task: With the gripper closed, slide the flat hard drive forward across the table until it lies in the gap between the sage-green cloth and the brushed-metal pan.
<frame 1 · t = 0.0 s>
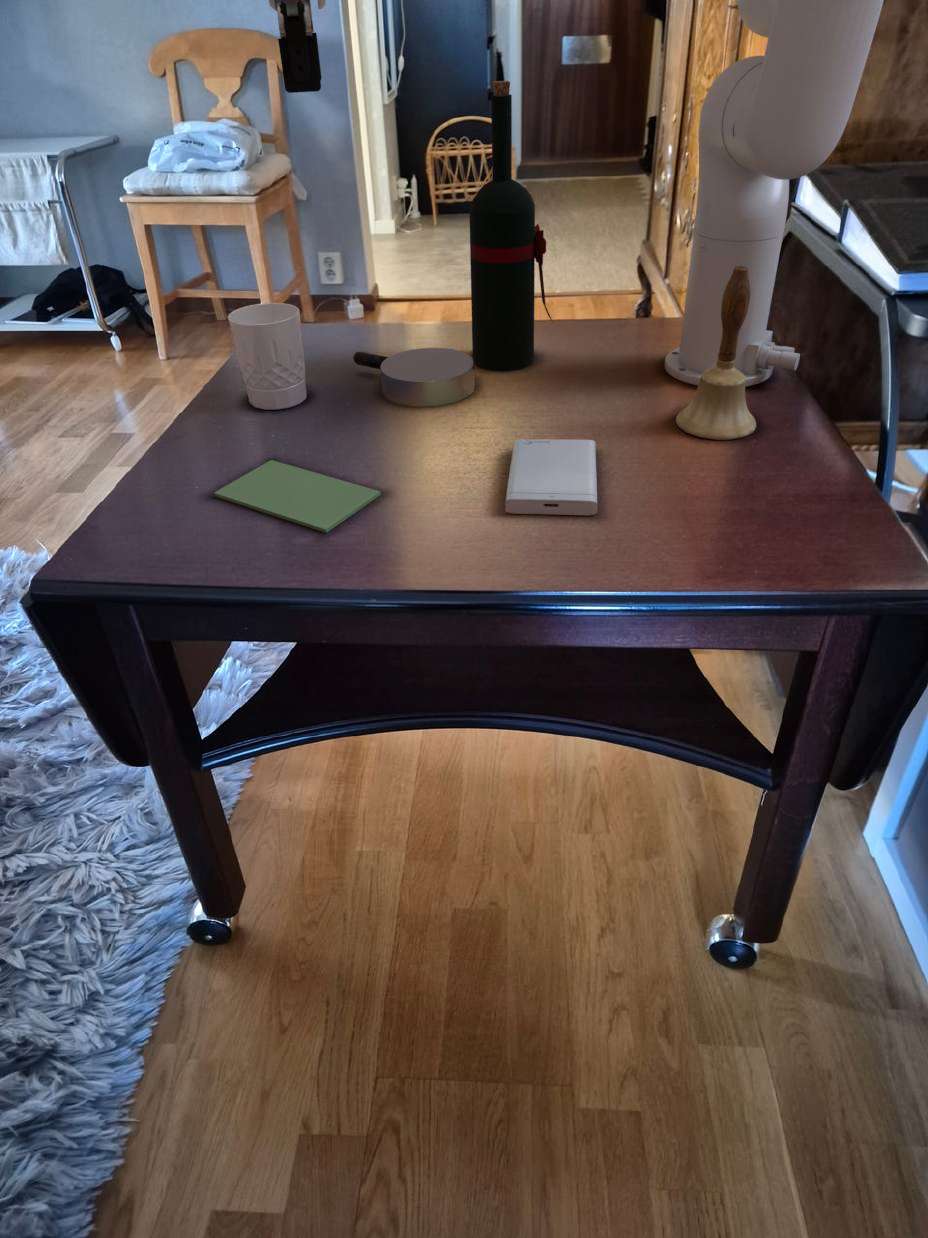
hand: (304, 86, 80), 31 cm above the table, tool pointing down, fingers open, 9 cm apart
wine bottle: (512, 360, 108), on the table
pan: (428, 388, 101), on the table
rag: (297, 495, 80), on the table
hard drive: (552, 484, 81), on the table
hand bell: (715, 425, 90), on the table
white cup: (279, 400, 100), on the table
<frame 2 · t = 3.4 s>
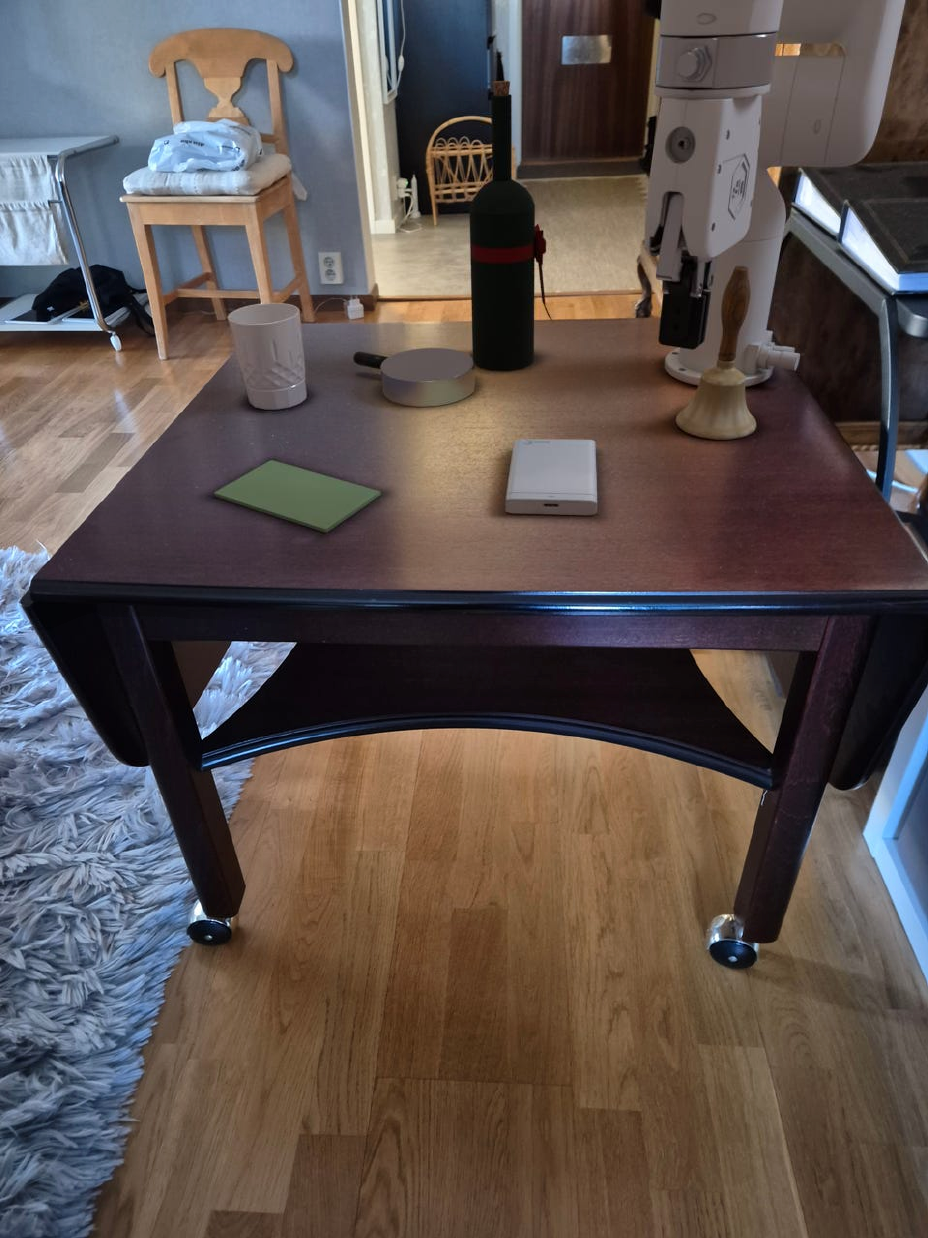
hand: (681, 343, 67), 15 cm above the table, tool pointing down, fingers closed
nothing on the table moved.
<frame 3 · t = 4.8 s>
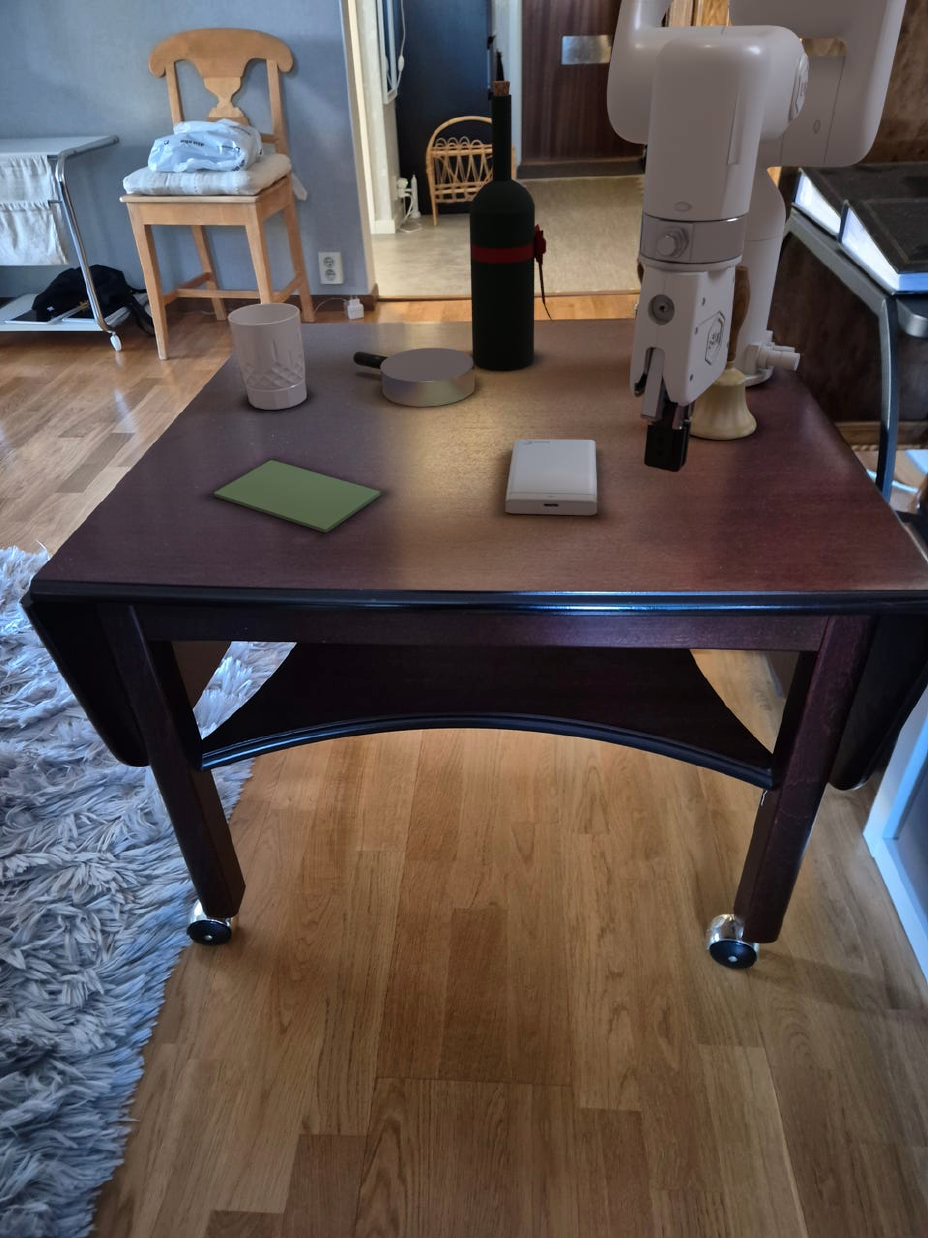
hand: (664, 465, 73), 5 cm above the table, tool pointing down, fingers closed
nothing on the table moved.
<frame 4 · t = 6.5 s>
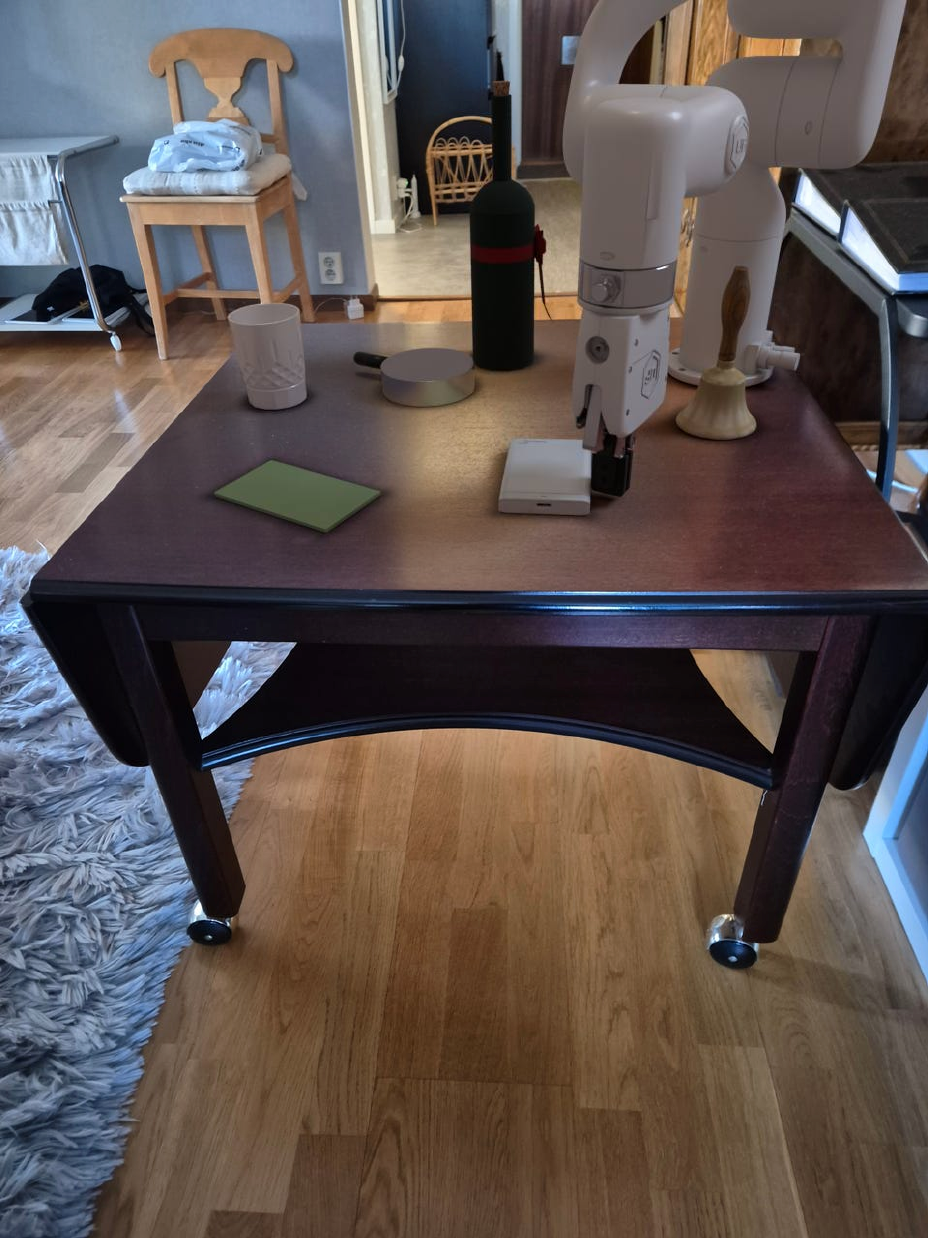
hand: (609, 489, 77), 1 cm above the table, tool pointing down, fingers closed
hard drive: (547, 483, 81), on the table, touching gripper
everything else where it was.
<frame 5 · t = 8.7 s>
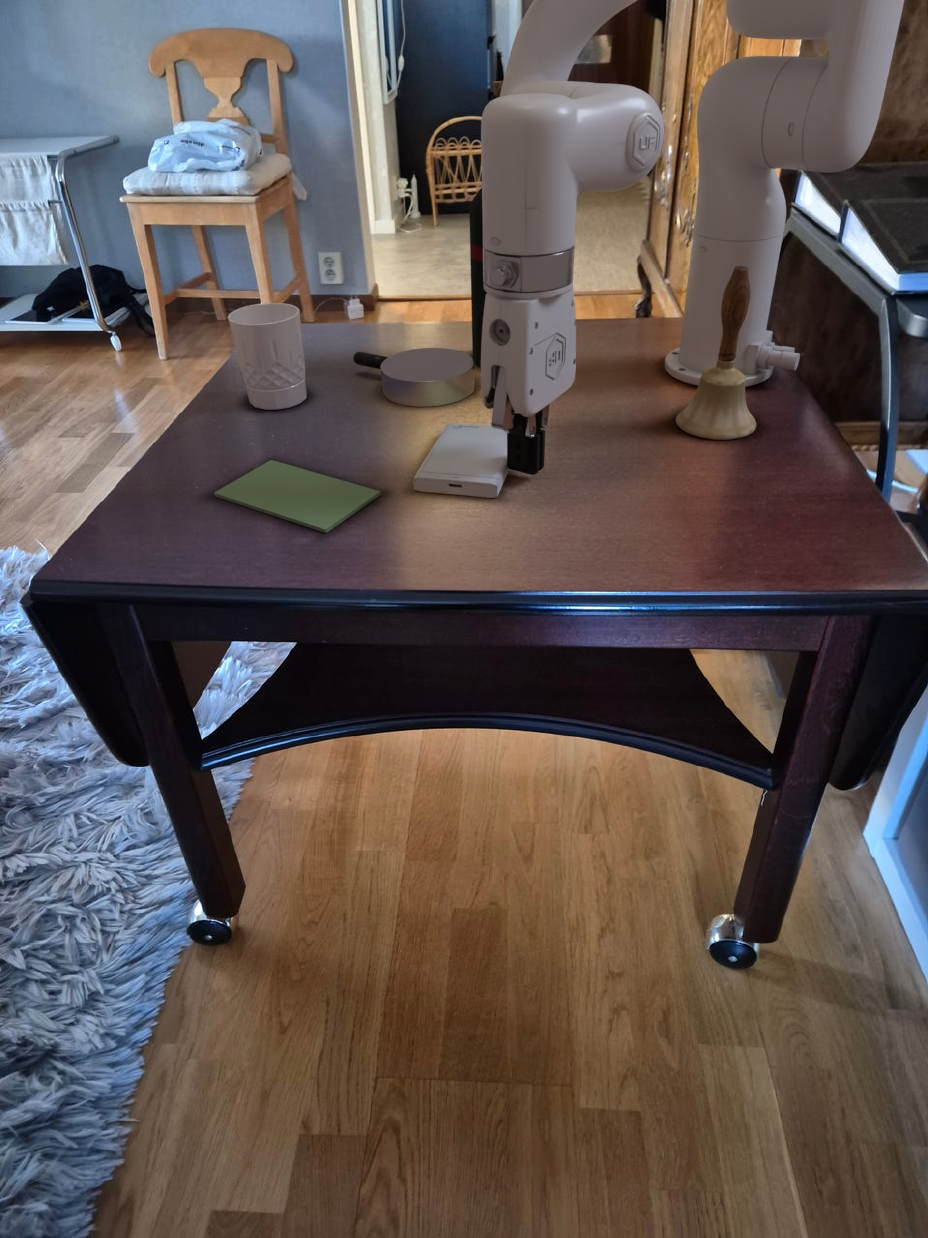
hand: (525, 468, 81), 1 cm above the table, tool pointing down, fingers closed
hard drive: (471, 467, 84), on the table, touching gripper
everything else where it was.
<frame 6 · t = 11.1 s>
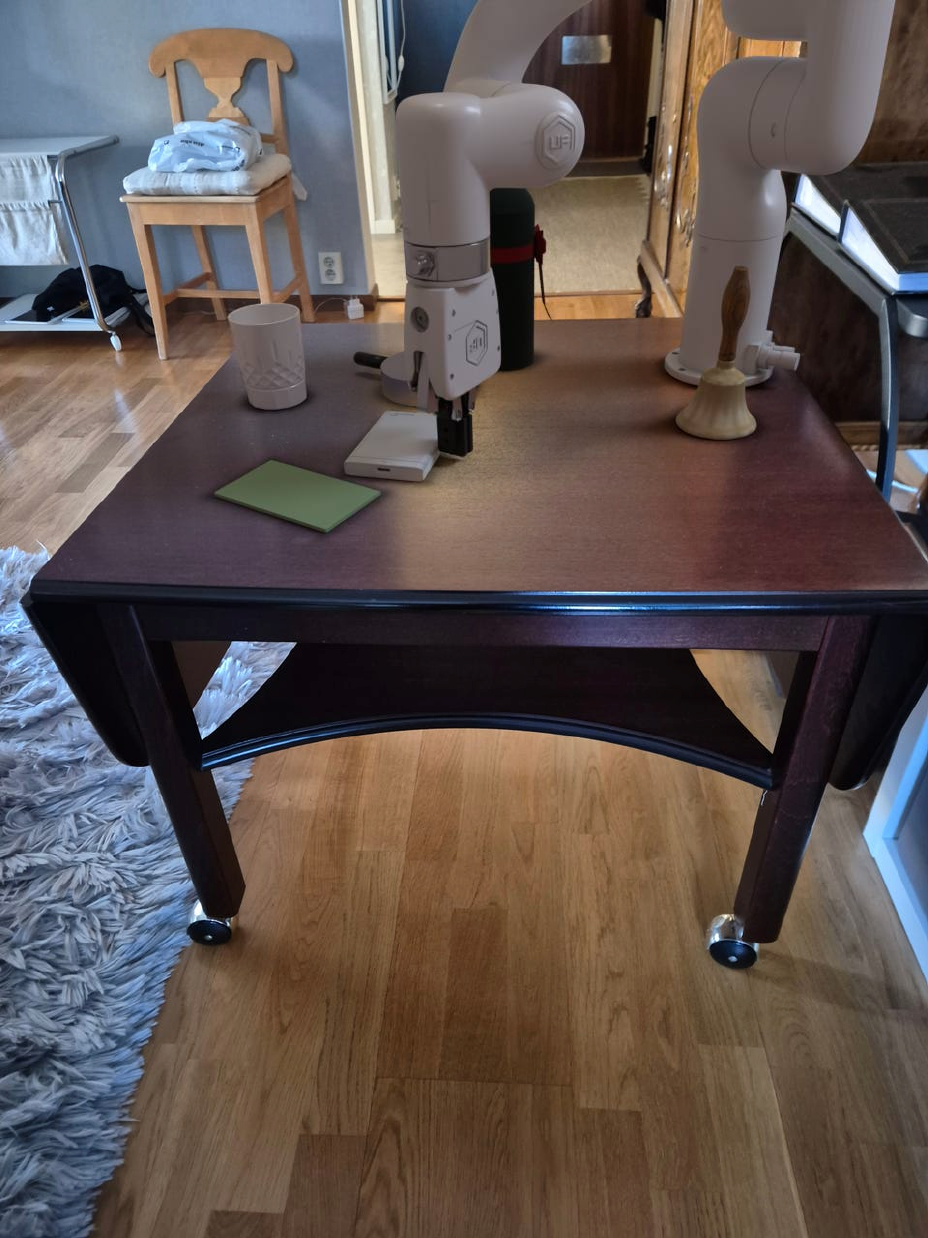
hand: (455, 451, 85), 1 cm above the table, tool pointing down, fingers closed
hard drive: (403, 452, 87), on the table, touching gripper
everything else where it was.
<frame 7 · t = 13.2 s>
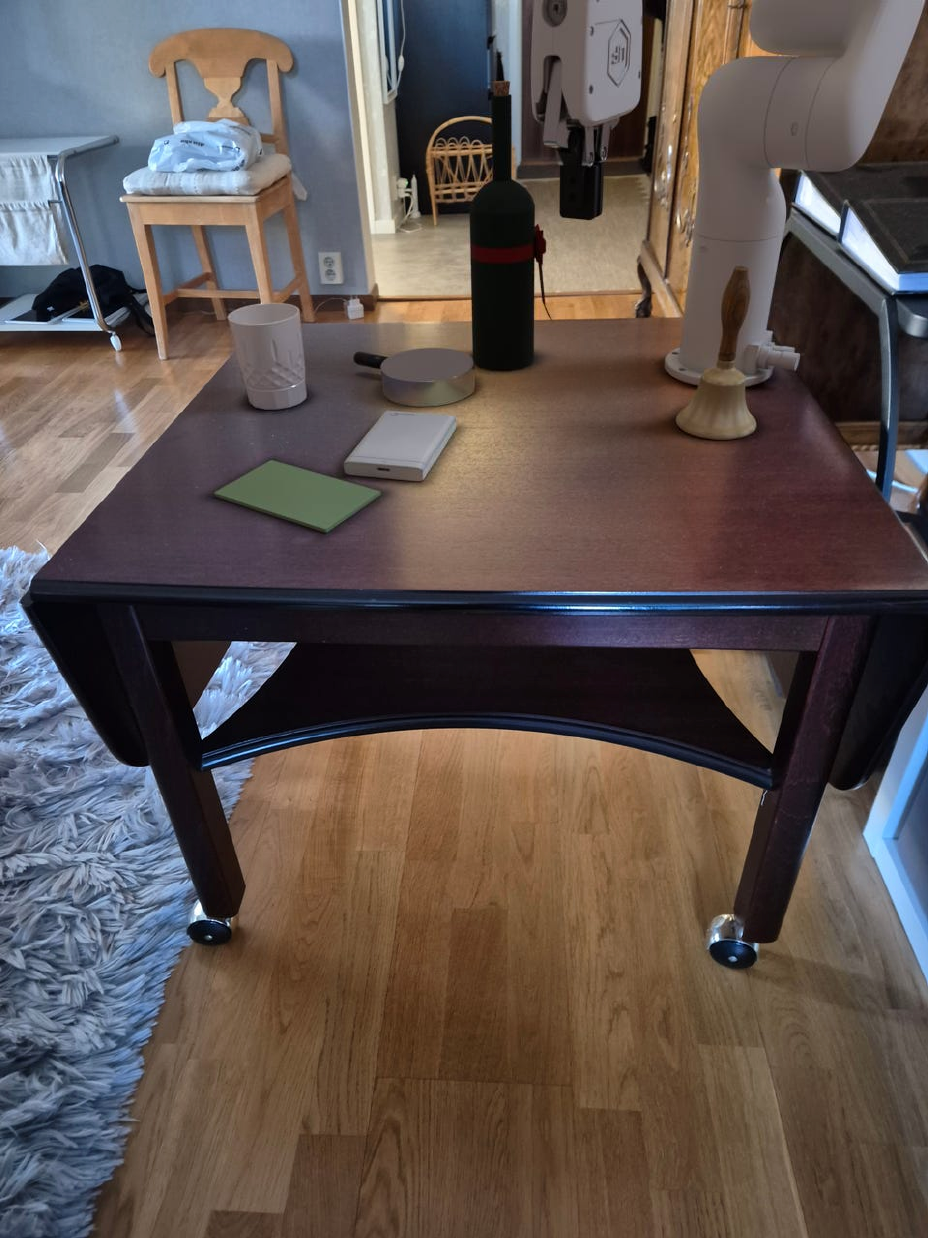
hand: (580, 216, 71), 23 cm above the table, tool pointing down, fingers closed
hard drive: (403, 452, 87), on the table
everything else where it was.
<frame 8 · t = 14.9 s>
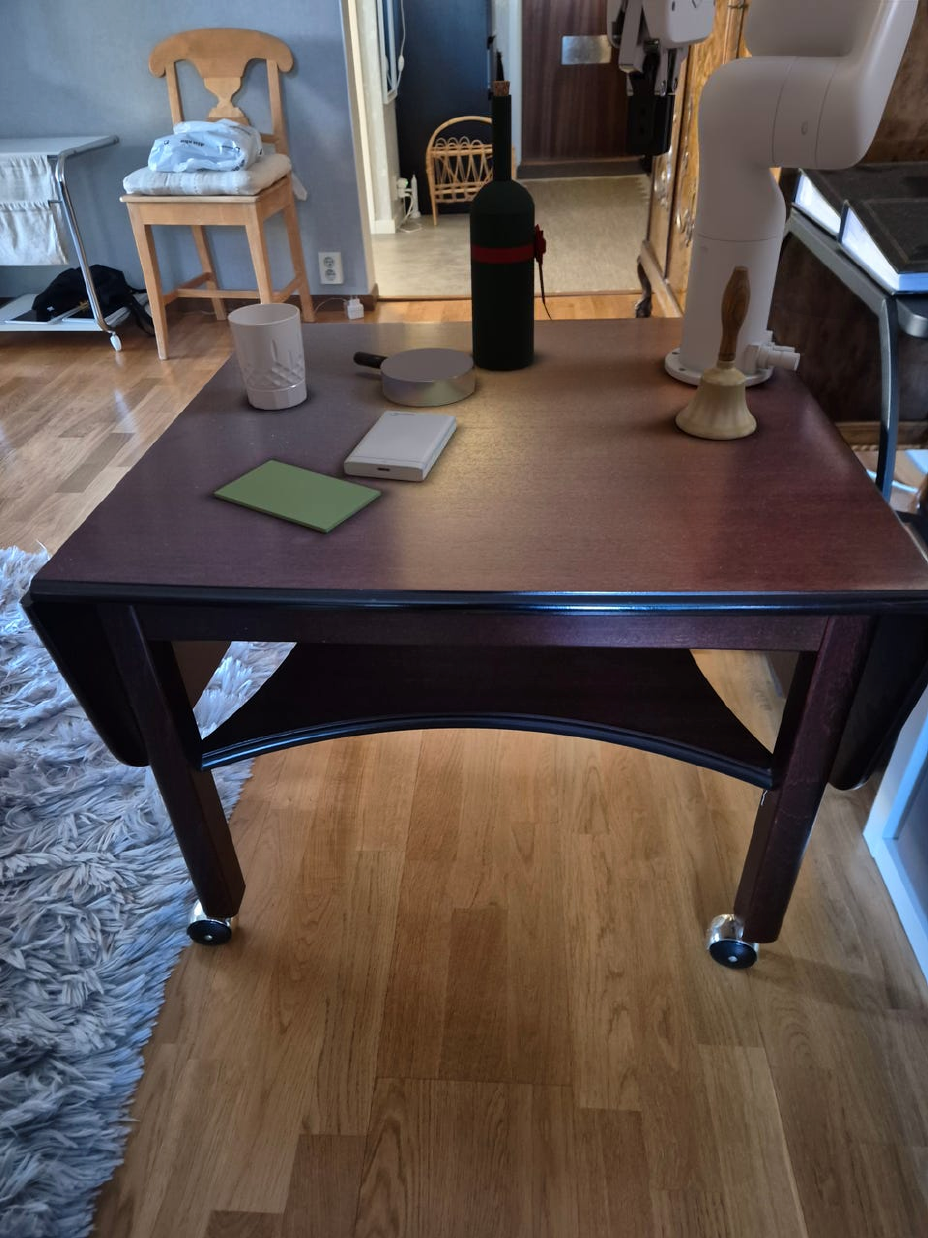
hand: (647, 152, 67), 27 cm above the table, tool pointing down, fingers closed
nothing on the table moved.
at the end: hard drive inside the target area on the table beside the pan (3.9 cm from its centre), on the table; hard drive moved 16.7 cm from its start; hard drive touching table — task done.
